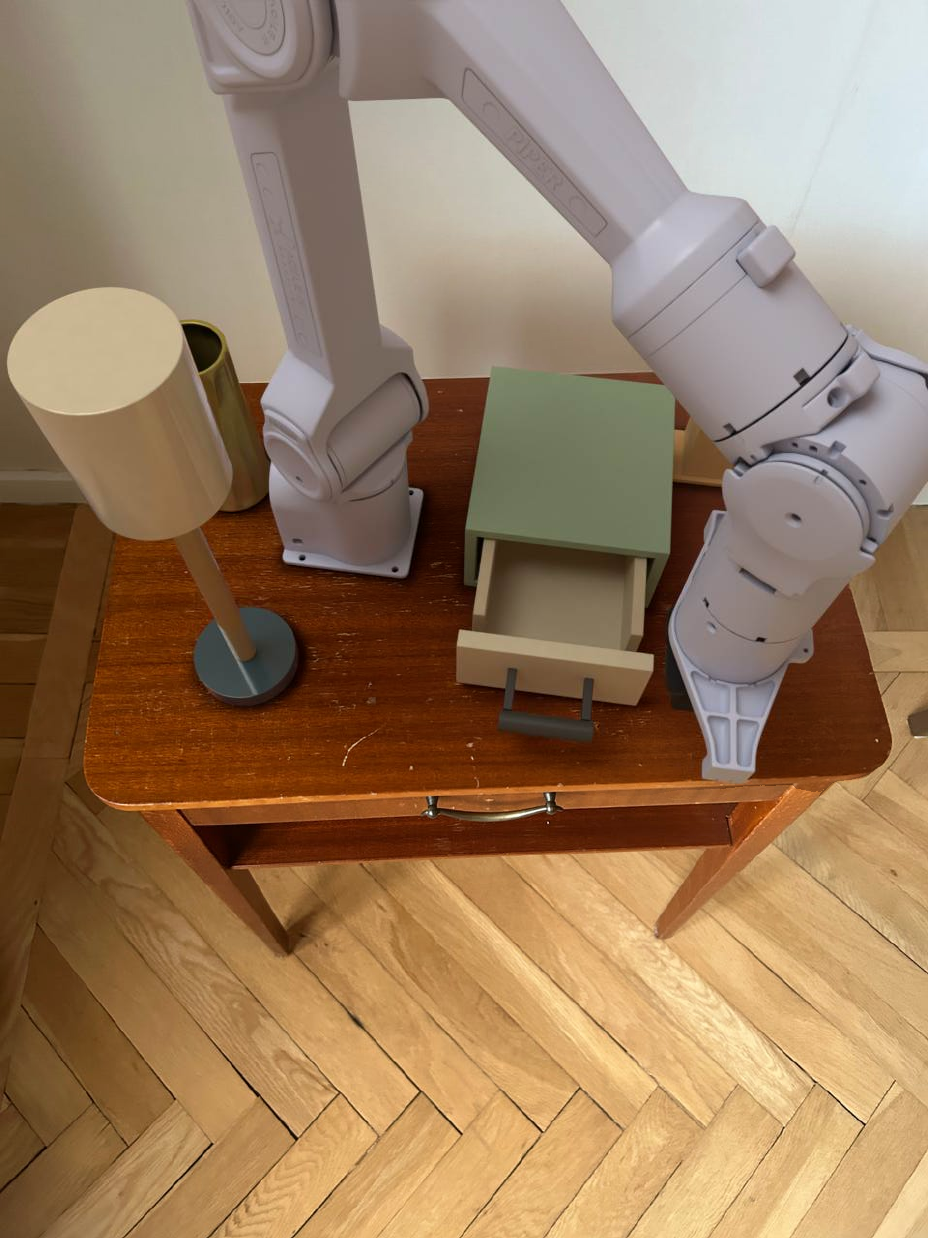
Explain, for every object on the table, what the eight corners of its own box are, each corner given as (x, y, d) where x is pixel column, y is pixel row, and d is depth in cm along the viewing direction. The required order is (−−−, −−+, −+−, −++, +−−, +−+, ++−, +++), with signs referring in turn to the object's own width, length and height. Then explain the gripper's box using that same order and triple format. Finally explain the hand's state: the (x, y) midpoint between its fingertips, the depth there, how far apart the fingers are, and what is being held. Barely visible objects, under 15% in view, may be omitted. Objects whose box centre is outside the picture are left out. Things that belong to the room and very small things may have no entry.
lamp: (187, 699, 61) (-22, 403, 34) (214, 610, 64) (43, 277, 37) (286, 712, 60) (153, 424, 34) (308, 623, 63) (204, 295, 37)
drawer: (633, 766, 58) (650, 736, 53) (447, 741, 58) (446, 708, 53) (644, 540, 66) (660, 495, 61) (481, 520, 67) (483, 474, 61)
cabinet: (647, 608, 64) (670, 553, 57) (463, 585, 65) (465, 528, 58) (654, 451, 71) (676, 386, 64) (488, 432, 72) (492, 365, 65)
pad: (662, 480, 70) (663, 477, 69) (664, 431, 72) (665, 428, 72) (738, 489, 69) (739, 486, 69) (737, 439, 72) (739, 436, 71)
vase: (260, 519, 67) (215, 390, 55) (184, 505, 68) (122, 375, 55) (283, 457, 70) (246, 321, 58) (210, 444, 71) (157, 307, 58)
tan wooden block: (681, 474, 69) (700, 424, 64) (683, 435, 71) (701, 383, 66) (726, 480, 69) (749, 430, 64) (726, 440, 71) (748, 388, 66)
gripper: (861, 749, 36) (759, 830, 48) (838, 469, 43) (754, 602, 55) (690, 727, 37) (631, 813, 49) (694, 453, 43) (641, 588, 55)
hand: (688, 700), depth 52 cm, fingers closed
